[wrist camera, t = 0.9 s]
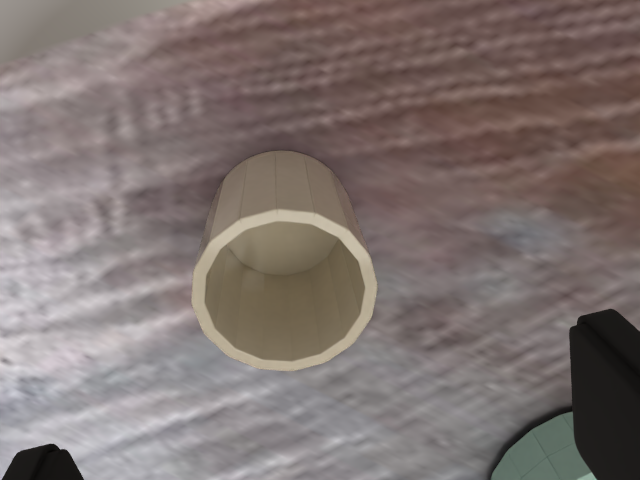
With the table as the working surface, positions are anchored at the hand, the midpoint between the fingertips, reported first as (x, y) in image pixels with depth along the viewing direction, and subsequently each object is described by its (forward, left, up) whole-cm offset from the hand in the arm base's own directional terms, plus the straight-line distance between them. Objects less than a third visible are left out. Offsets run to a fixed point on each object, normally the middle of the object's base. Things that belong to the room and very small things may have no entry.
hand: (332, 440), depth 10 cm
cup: (+3, -1, -19) cm, 19 cm away
